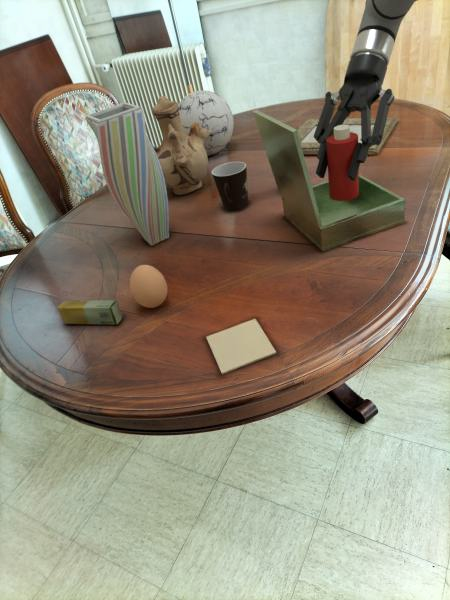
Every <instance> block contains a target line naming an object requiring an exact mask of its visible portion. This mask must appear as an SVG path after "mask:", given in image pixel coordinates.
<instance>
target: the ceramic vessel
mask: <svg viewBox="0 0 450 600" xmlns="http://www.w3.org/2000/svg"><path fill="white" fill-rule="evenodd" d="M178 104H179V103H178V102H177V101H171V100H169V99H168V97H167V96H165V95H161V96H159V98H158V100H157V103H156V104H155V105H154V106H153V107H151V112H152V115H153V116H154V118H155V119H156V121H157V123H158V126H159V129H160V133H161V135H162V140H161V143H160V145H159V146H158V147H157V146H154V145H153V144H152V146H153V148H154V150H155V153H156V155H157V157H158V160H159V163H160V166H161V169H162V172H163V176H164V180H165V185H166V189H167V188H169V189H172V191H173V193H174V194H175V195H178V196H181V195H182V196H183V195H187V194H190V193H192V192H194V191H196V190H198V189H200V188H202V187H203V181H202V179H203V178H204V177H205V176H206V174H207V172H208V165H209V157H208V156H207V153H206V150H205V148H204V141H205V139H206V138H207V137H208V136H209V135H210V134H212V131H211V130H206V129H204V128H202V127H201V126H200V124H199V123H197V122H196V123H193V124H192V125H191V127H190V132H189V134H188V135H186V134H185V132H184V129H183V126H182V122H181V118H180V114H179V107H178Z"/></svg>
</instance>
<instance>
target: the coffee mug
mask: <svg viewBox="0 0 450 600" xmlns="http://www.w3.org/2000/svg"><path fill="white" fill-rule="evenodd" d="M247 173H248V171H247V164H246V163H245V162H243V161H229V162H225V163H222V164H220V165H217V166H215V167H214V168H213V169H212V170H211V175H212V178H213V181H214V183H215V187H216V190H217V192H218V195H219V197H220V201H221V203H222V207H223V208H224V211H226V212H230V213H236V212H240V211H242V210H245V209H246V208H247V207H249V189H248V174H247Z"/></svg>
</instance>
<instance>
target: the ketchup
mask: <svg viewBox="0 0 450 600" xmlns="http://www.w3.org/2000/svg"><path fill="white" fill-rule="evenodd" d="M357 143H358V135H357V134H356V133H352V132H350V126H349V125H339V126H336V127H334V135H332V136H330V137H328V138H327V139H326V144H327V162H328V166H327V177H328V180H329V197H330V198H331V199H332V200H336V201H347V200H351V199H354V198H355V197H357V196H358V194H359V173H360V171H359V170H358V173H357V176H356V180H355V181H351V179H350V178H349V177H348V176H347V174H348V171H349V167H350V164H351V161H352V157H353V154H354V150H355V147H356V144H357ZM328 180H327V181H328Z"/></svg>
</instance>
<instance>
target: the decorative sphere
mask: <svg viewBox="0 0 450 600" xmlns="http://www.w3.org/2000/svg"><path fill="white" fill-rule="evenodd" d="M179 101H180V102H179V103H178V107H179V114H180V118H181V122H182V126H183V129H184V132H185V134H186V135H188V134H189V132H190V127H191V125H192V124H193V123H196V122H197V123H199V124H200V126H201V127H202V128H204V129H206V130H211V131H212V134H210V135H209V136H208V137H207V138H206V139H205V141H204V148H205V150H206V153H207V157H208V156H212V155H216V154H218V153H219V152H221V151H222V150H223V149H224V148H225V147H226V146H227V145H228V144H229V142H230V140H231V138H232V136H233V132H234V128H235V127H234V125H235V124H234V116H233V112H232V109H231V108H230V106H229V104H228V102H227V101H226V100H225V99H224V98H223V97H222V96H221V95H219V94H217V92H214V91H211V90H205V89H204V90H203V89H202V90H201V89H200V90H195V91H193V92H190V93H187V95H185V96H184V97H183V98H182V99H181V100H179Z"/></svg>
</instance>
